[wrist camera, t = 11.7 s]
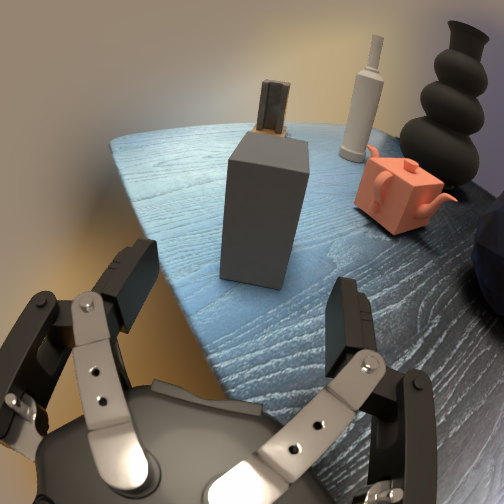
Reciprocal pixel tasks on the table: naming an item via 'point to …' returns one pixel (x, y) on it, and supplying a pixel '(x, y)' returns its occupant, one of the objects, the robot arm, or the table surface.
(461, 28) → the vase
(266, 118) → the stand
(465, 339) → the table surface
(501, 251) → the decorative orb
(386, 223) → the teapot
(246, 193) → the grey rectangular block
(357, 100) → the bottle
